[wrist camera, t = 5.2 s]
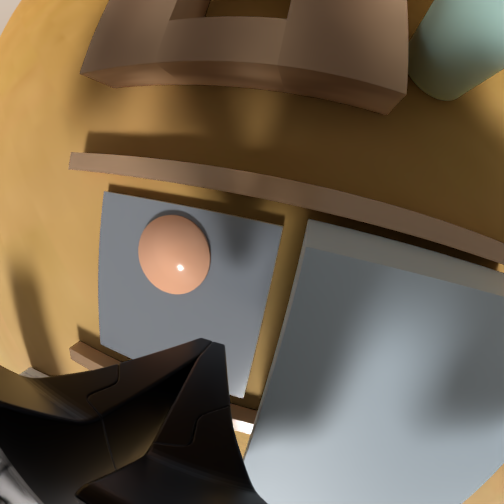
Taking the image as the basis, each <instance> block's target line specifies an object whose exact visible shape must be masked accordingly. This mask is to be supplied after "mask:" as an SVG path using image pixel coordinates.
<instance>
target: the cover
mask: <svg viewBox="0 0 504 504" xmlns="http://www.w3.org/2000/svg"><path fill="white" fill-rule="evenodd" d="M243 461H244V464H245V467H246V470H247V472H248V475H249V478H250V480H251V483H252V485H253V487H254V488H255V490H256V492H257V493H258V494H259V495H260V497H262V498H263V499H264V500H265V501H266V502H267V503H268V504H462V503H463V502H464V501H465V500H466V499H468V498H469V497H470V496H471V495H472V494H473V493H474V492H475V491H477V490H478V489H479V488H480V487H481V486H482V485H483V484H484V483H485V482H486V481H487V480H488V479H489V478H490V477H491V476H492V475H493V474H494V473H495V472H496V471H497V470H498V469H499V468H500V467H501V465H502V464H503V463H504V273H502V272H499V271H496V270H493V269H490V268H487V267H484V266H481V265H477V264H474V263H471V262H468V261H465V260H461V259H458V258H455V257H452V256H448V255H445V254H442V253H438V252H435V251H431V250H428V249H424V248H421V247H417V246H414V245H410V244H407V243H403V242H399V241H396V240H392V239H388V238H385V237H381V236H377V235H373V234H369V233H365V232H362V231H358V230H354V229H350V228H346V227H342V226H337V225H333V224H329V223H325V222H321V221H316V220H312V219H308V222H307V227H306V231H305V236H304V240H303V245H302V249H301V253H300V258H299V262H298V266H297V270H296V274H295V278H294V283H293V287H292V291H291V295H290V298H289V302H288V306H287V310H286V314H285V318H284V322H283V325H282V329H281V333H280V336H279V340H278V344H277V347H276V351H275V354H274V358H273V362H272V365H271V368H270V372H269V375H268V379H267V382H266V386H265V389H264V392H263V396H262V399H261V402H260V405H259V409H258V412H257V415H256V418H255V422H254V425H253V428H252V432H251V435H250V438H249V441H248V444H247V448H246V451H245V454H244V457H243Z"/></svg>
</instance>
